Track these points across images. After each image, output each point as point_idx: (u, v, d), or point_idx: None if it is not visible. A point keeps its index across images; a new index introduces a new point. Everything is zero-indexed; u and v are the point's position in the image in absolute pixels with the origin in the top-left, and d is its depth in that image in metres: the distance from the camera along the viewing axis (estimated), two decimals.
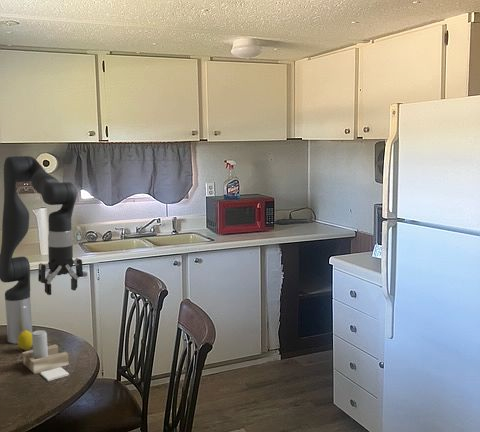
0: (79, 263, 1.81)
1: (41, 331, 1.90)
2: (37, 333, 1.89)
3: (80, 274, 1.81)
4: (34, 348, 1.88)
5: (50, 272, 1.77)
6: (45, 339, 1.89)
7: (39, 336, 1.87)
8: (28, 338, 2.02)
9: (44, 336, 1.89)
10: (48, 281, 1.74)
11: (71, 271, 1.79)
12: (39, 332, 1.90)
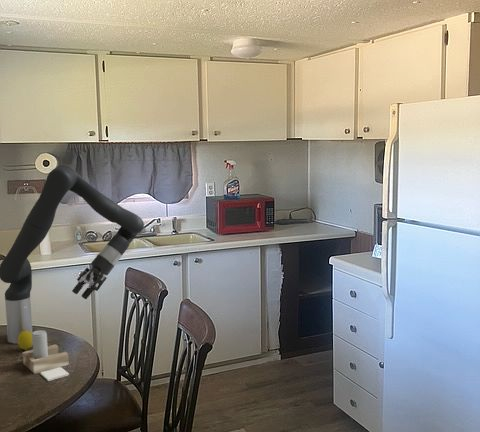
0: None
1: (41, 331, 1.90)
2: (37, 333, 1.89)
3: None
4: (34, 348, 1.88)
5: None
6: (45, 339, 1.89)
7: (39, 336, 1.87)
8: (28, 338, 2.02)
9: (44, 336, 1.89)
10: None
11: None
12: (39, 332, 1.90)
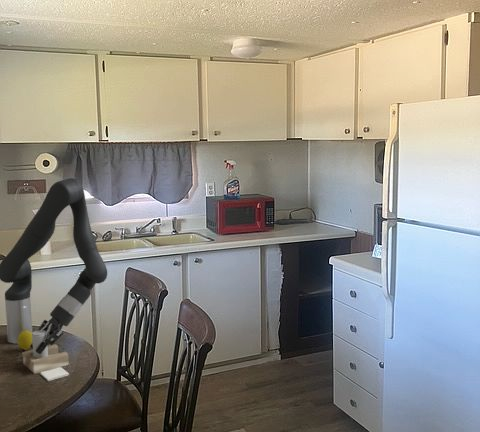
0: None
1: (41, 331, 1.90)
2: (37, 333, 1.89)
3: None
4: (34, 348, 1.88)
5: None
6: None
7: (39, 336, 1.87)
8: (28, 338, 2.02)
9: (44, 336, 1.89)
10: None
11: None
12: (39, 332, 1.90)
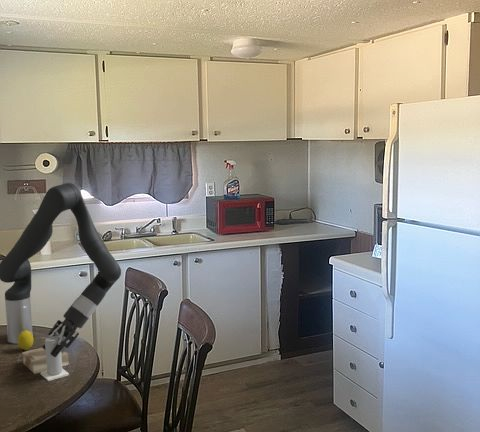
0: None
1: (54, 337, 1.82)
2: (50, 339, 1.81)
3: None
4: (47, 355, 1.80)
5: None
6: None
7: (52, 342, 1.79)
8: (27, 338, 2.02)
9: (57, 342, 1.81)
10: None
11: None
12: (52, 338, 1.82)
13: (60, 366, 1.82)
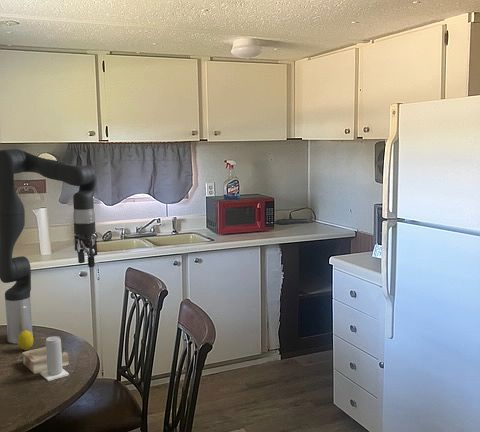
0: None
1: (55, 337, 1.82)
2: (51, 339, 1.81)
3: None
4: (48, 355, 1.80)
5: None
6: (59, 346, 1.81)
7: (53, 343, 1.79)
8: (28, 338, 2.02)
9: (58, 342, 1.81)
10: None
11: None
12: (53, 338, 1.82)
13: (60, 366, 1.82)
